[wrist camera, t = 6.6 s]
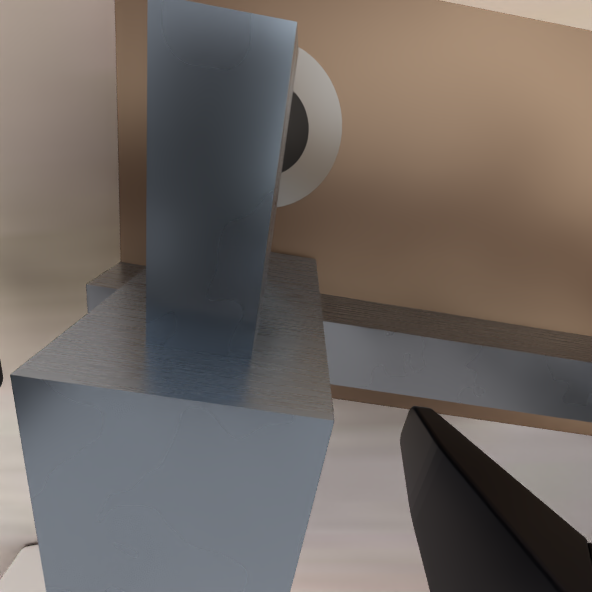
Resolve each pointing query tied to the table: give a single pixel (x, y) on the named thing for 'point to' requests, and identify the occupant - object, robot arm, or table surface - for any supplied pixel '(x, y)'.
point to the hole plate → (418, 164)
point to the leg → (190, 346)
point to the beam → (439, 354)
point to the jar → (24, 572)
